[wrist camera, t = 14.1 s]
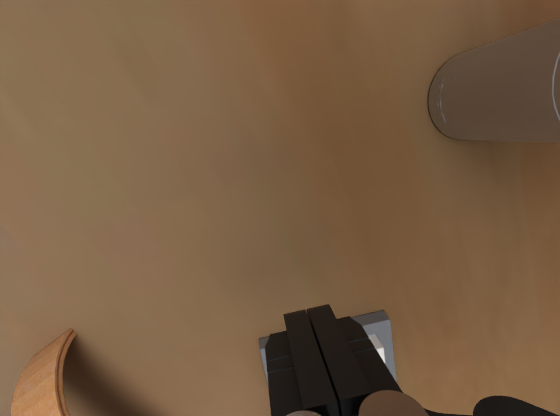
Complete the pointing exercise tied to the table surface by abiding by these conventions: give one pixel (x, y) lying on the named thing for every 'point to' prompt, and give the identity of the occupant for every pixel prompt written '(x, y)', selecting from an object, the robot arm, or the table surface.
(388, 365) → the socket plate
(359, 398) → the robot arm
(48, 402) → the arch
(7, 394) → the table surface
